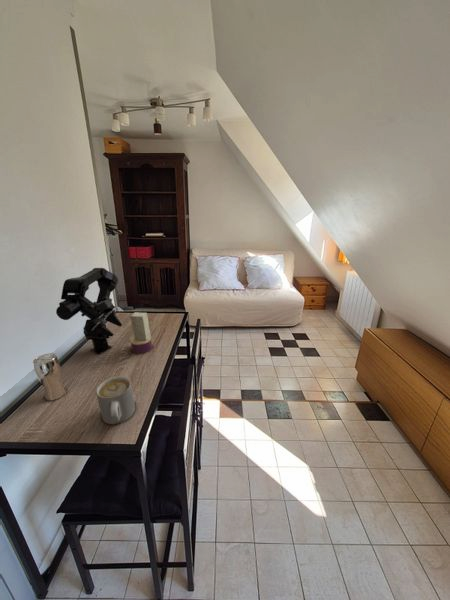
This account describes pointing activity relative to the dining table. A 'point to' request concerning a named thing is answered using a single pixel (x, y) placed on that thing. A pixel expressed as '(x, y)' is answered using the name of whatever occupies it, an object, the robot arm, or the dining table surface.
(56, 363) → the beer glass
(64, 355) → the dining table surface
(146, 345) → the jar
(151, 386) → the dining table surface
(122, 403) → the coffee mug
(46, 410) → the dining table surface
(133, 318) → the cosmetic box
